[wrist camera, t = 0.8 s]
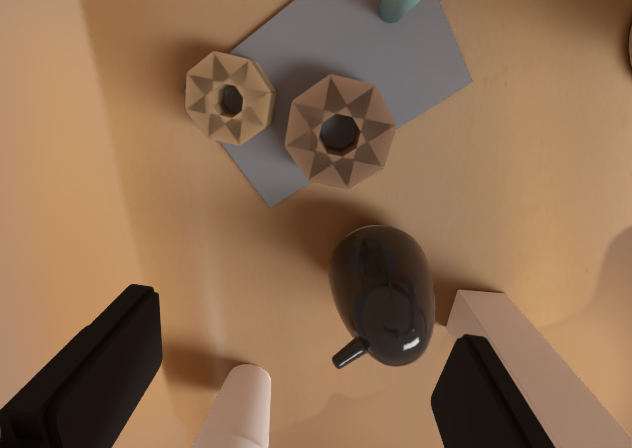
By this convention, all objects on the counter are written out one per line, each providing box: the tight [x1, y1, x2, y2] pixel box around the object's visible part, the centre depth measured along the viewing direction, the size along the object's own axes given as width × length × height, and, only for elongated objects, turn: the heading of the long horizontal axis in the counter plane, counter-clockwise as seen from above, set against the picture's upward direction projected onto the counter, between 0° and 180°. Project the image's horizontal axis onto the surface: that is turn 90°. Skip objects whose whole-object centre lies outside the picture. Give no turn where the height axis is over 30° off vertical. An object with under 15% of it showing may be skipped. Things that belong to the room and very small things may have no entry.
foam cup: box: [189, 364, 271, 448], centre depth 39 cm, size 10×9×13 cm
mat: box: [182, 0, 473, 208], centre depth 29 cm, size 23×14×1 cm, turn 123°
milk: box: [446, 289, 632, 448], centre depth 29 cm, size 6×6×22 cm
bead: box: [285, 74, 396, 189], centre depth 29 cm, size 9×9×4 cm
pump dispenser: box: [328, 225, 436, 369], centre depth 29 cm, size 10×10×15 cm
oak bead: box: [185, 51, 277, 145], centre depth 28 cm, size 7×7×4 cm
